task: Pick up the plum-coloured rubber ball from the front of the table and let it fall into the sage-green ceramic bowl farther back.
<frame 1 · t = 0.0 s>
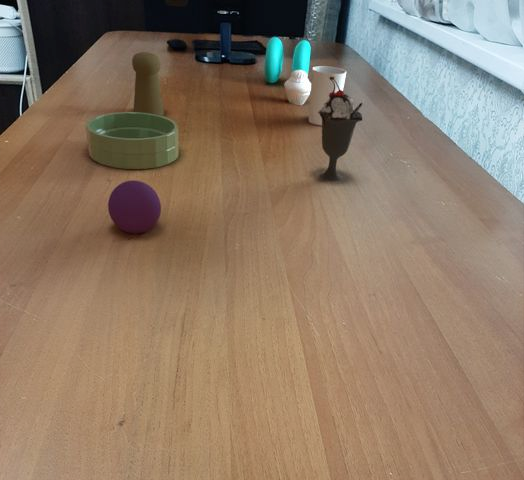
sundae: (329, 180, 91), on the table
bowl: (134, 156, 93), on the table
white paper cup: (322, 124, 116), on the table
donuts: (285, 85, 140), on the table
ball: (134, 207, 70), point 3 cm above the table
muffin: (296, 104, 127), on the table
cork: (149, 116, 112), on the table
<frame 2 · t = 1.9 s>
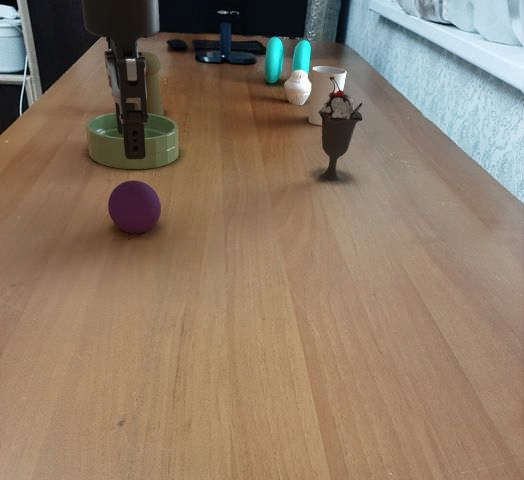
hand: (131, 145, 66), 11 cm above the table, tool pointing down, fingers open, 8 cm apart
nothing on the table moved.
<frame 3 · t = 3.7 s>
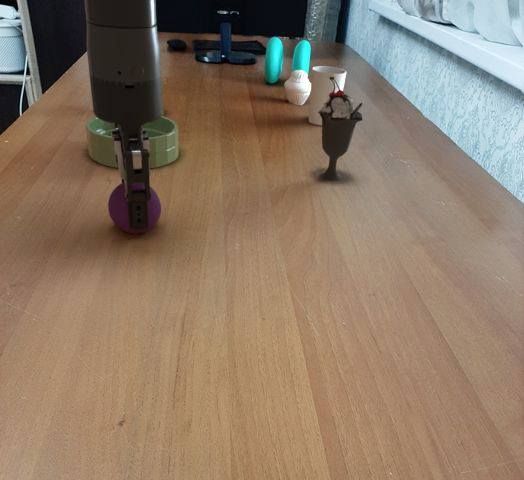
hand: (135, 215, 71), 2 cm above the table, tool pointing down, fingers closed on ball, 6 cm apart
ball: (134, 207, 70), point 3 cm above the table, touching gripper
everything else where it was.
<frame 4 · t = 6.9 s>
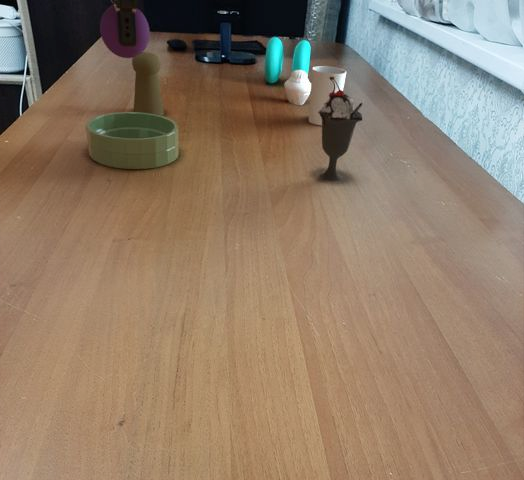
hand: (125, 39, 76), 18 cm above the table, tool pointing down, fingers closed on ball, 6 cm apart
ball: (125, 31, 75), point 19 cm above the table, touching gripper
everything else where it was.
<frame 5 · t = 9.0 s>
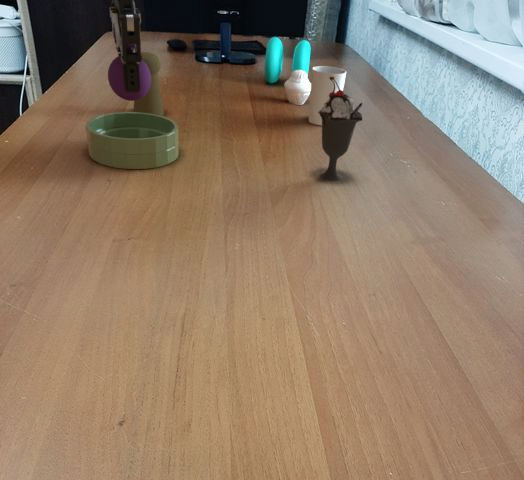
hand: (130, 85, 87), 11 cm above the table, tool pointing down, fingers closed on ball, 6 cm apart
ball: (129, 77, 86), point 12 cm above the table, touching gripper
everything else where it was.
when the fingers open (7 cm above the table, at t = 10.6 s): ball drops 5 cm, resting on bowl.
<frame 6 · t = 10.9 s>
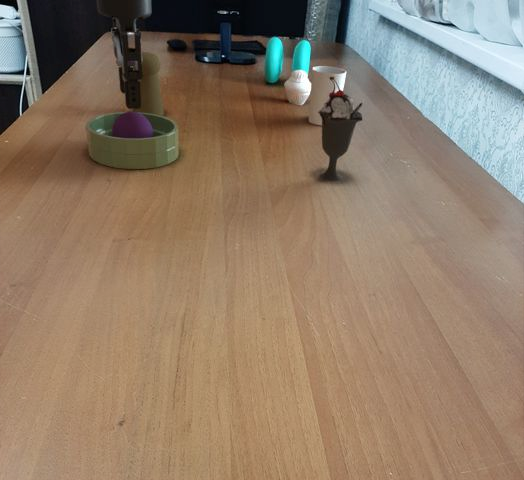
hand: (130, 100, 88), 9 cm above the table, tool pointing down, fingers open, 8 cm apart
ball: (132, 133, 91), point 4 cm above the table, touching bowl
everything else where it was.
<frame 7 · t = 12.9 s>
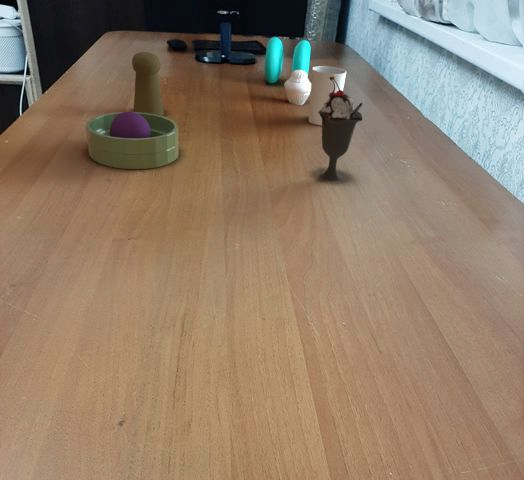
ball: (130, 133, 91), point 4 cm above the table, tilted 6°, touching bowl
everything else where it was.
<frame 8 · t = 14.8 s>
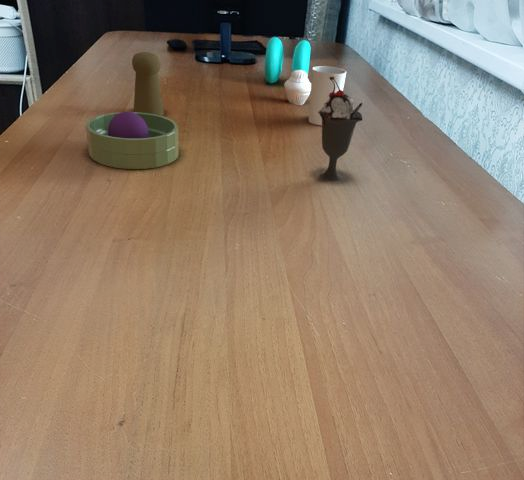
ball: (128, 133, 91), point 4 cm above the table, tilted 12°, touching bowl
everything else where it was.
at the end: ball inside the target area in the bowl (0.7 cm from its centre), point 3.7 cm above the bowl's base; the gripper is holding nothing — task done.
